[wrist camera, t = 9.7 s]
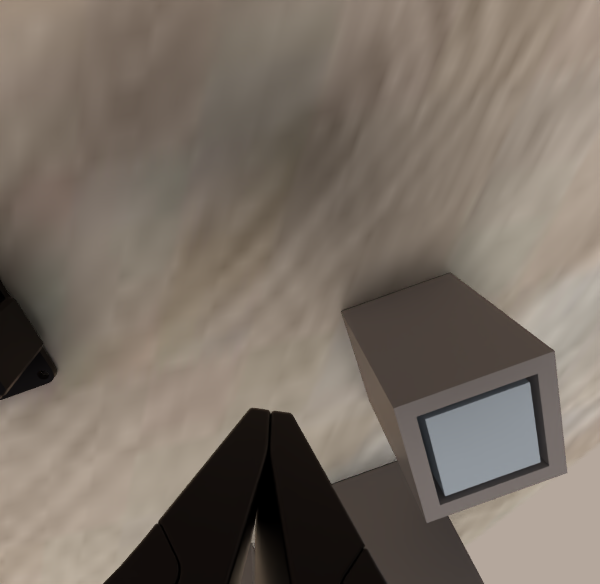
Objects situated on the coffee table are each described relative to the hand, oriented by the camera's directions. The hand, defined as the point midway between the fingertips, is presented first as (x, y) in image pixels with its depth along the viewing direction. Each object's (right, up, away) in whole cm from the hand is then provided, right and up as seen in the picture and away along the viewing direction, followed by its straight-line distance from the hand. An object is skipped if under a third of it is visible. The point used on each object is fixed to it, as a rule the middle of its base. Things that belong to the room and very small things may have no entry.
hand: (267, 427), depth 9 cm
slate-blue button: (+7, -2, +10) cm, 13 cm away
